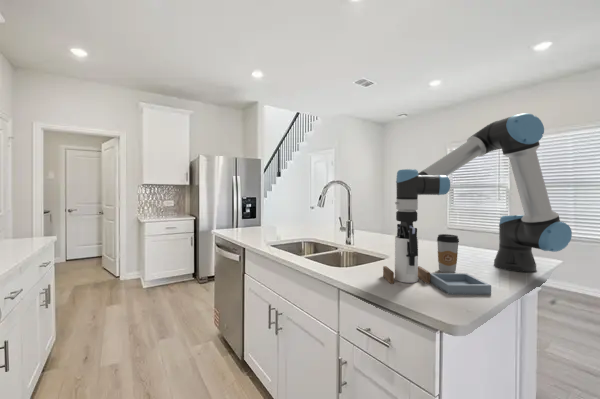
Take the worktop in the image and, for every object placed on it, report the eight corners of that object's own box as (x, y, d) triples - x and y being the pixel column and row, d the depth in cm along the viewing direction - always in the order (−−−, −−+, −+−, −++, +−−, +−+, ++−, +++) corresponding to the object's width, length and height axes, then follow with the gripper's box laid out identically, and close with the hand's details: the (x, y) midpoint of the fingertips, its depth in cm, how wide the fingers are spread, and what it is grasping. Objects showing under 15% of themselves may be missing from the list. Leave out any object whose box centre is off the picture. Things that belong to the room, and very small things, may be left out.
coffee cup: (436, 272, 122) (437, 236, 122) (435, 267, 130) (436, 233, 130) (459, 274, 119) (460, 237, 119) (457, 269, 127) (458, 234, 126)
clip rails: (419, 276, 117) (419, 266, 117) (429, 283, 108) (430, 272, 108) (383, 276, 117) (383, 266, 117) (390, 283, 108) (390, 272, 108)
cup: (415, 284, 107) (415, 239, 106) (392, 280, 111) (392, 237, 111) (419, 278, 114) (420, 236, 113) (397, 275, 118) (398, 235, 118)
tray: (466, 281, 111) (466, 273, 111) (491, 294, 97) (491, 285, 97) (429, 281, 110) (429, 273, 110) (448, 294, 96) (448, 285, 96)
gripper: (388, 208, 122) (387, 263, 123) (407, 212, 101) (406, 279, 102) (406, 208, 122) (405, 263, 123) (429, 212, 101) (428, 278, 102)
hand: (406, 270), depth 112 cm, fingers closed on cup, 8 cm apart
